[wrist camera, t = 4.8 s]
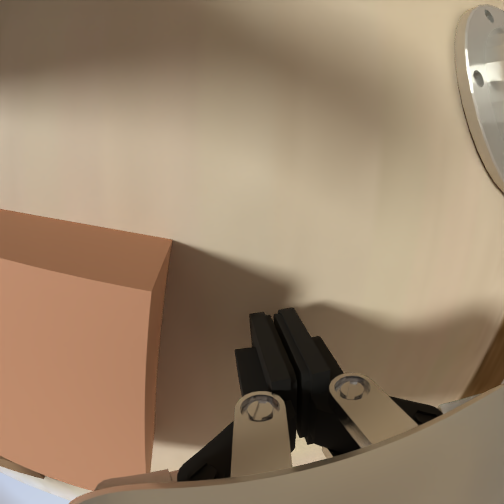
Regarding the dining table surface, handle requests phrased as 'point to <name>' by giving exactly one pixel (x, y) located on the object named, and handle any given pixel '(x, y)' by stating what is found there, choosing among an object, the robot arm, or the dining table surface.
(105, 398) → the carton
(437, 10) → the dining table surface
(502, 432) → the robot arm
